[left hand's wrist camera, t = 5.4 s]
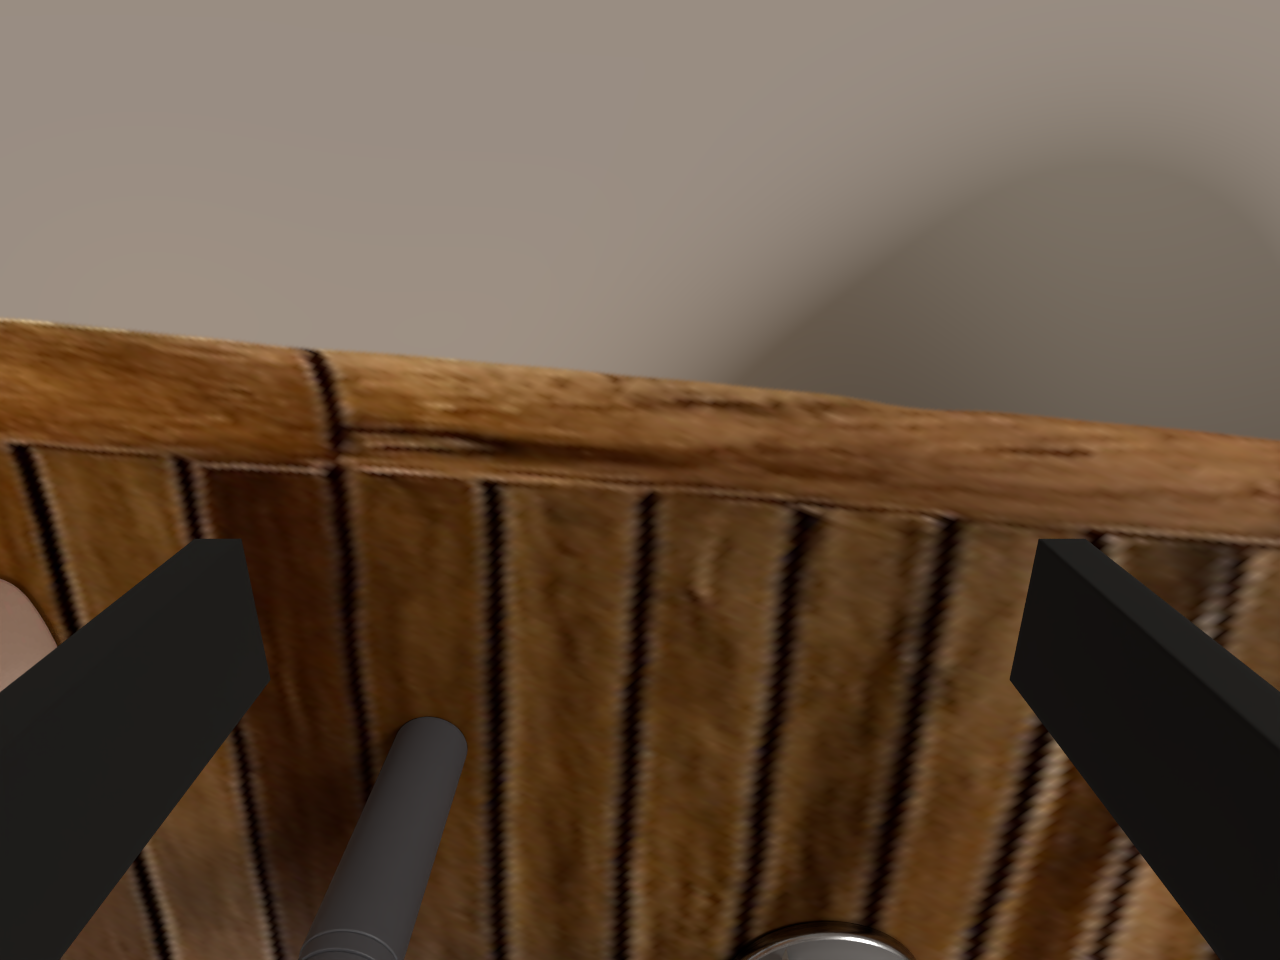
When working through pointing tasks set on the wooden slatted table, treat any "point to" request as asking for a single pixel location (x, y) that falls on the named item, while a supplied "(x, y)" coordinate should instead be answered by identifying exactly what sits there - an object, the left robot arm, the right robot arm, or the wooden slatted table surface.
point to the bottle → (391, 849)
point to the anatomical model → (20, 634)
